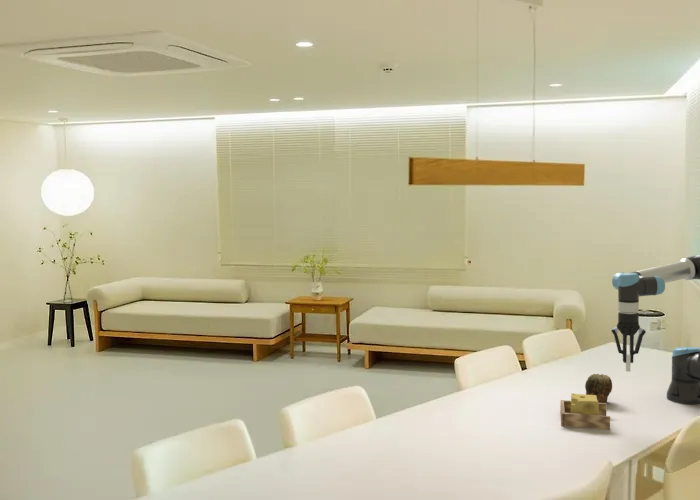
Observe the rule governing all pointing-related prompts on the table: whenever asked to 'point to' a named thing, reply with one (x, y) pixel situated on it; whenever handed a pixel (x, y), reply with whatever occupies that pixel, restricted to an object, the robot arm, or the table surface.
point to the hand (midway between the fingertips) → (628, 370)
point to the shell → (599, 387)
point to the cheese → (584, 404)
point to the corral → (584, 417)
